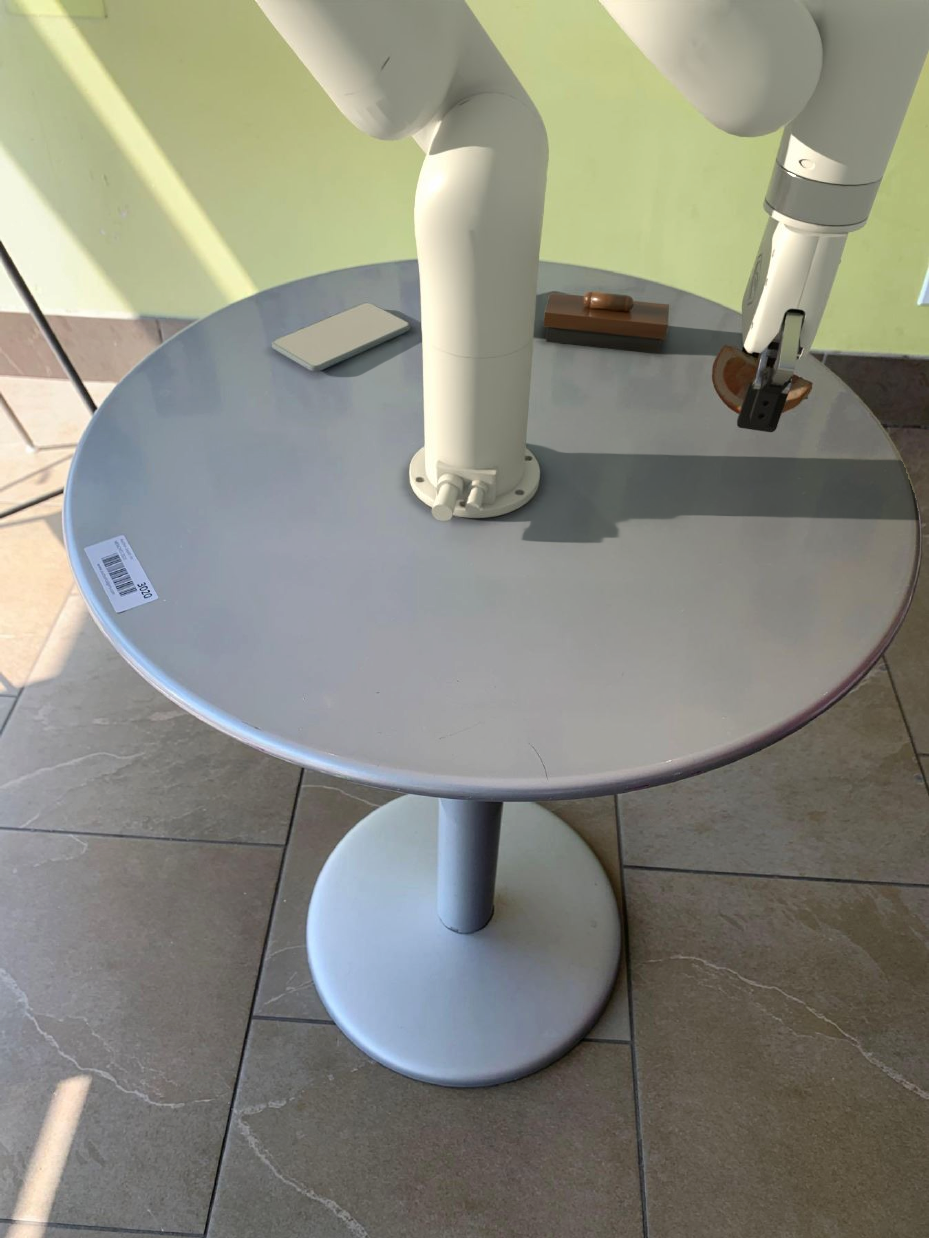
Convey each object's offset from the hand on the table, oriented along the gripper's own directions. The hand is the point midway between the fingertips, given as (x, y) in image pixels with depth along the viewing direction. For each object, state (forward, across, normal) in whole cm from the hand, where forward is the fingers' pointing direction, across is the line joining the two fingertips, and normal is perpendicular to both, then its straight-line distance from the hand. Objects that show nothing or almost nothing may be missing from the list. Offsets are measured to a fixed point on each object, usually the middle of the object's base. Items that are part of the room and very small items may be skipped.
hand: (754, 401), depth 79 cm
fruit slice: (+1, 0, 0) cm, 1 cm away
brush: (+11, -28, -14) cm, 33 cm away
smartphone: (+12, -21, -44) cm, 50 cm away
